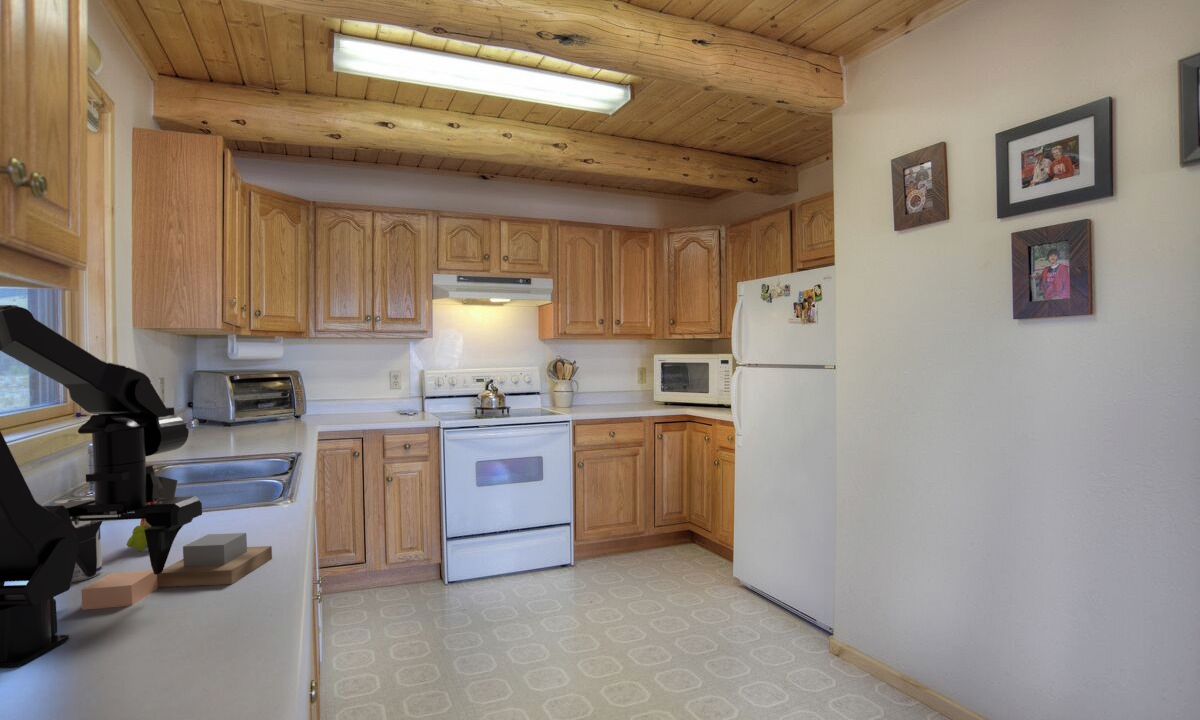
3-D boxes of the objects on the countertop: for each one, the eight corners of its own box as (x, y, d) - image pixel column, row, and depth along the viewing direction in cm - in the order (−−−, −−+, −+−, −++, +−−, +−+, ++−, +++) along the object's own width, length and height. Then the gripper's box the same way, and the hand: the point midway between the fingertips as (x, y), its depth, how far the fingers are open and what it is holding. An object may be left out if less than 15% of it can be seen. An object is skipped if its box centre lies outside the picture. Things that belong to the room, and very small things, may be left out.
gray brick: (224, 564, 91) (223, 544, 91) (183, 566, 91) (182, 546, 91) (247, 551, 97) (246, 532, 97) (208, 553, 97) (207, 534, 97)
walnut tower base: (231, 584, 88) (231, 570, 88) (155, 586, 88) (154, 573, 88) (272, 558, 99) (271, 546, 99) (204, 560, 99) (203, 548, 99)
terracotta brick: (132, 607, 82) (131, 585, 82) (82, 611, 81) (81, 589, 81) (157, 590, 88) (156, 569, 88) (111, 594, 87) (110, 573, 87)
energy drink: (97, 568, 97) (94, 493, 97) (106, 575, 94) (102, 497, 94) (52, 578, 93) (49, 500, 93) (60, 586, 90) (56, 505, 90)
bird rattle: (129, 558, 109) (125, 549, 102) (128, 497, 112) (125, 484, 105) (172, 551, 112) (171, 542, 105) (170, 492, 116) (169, 479, 109)
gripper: (223, 450, 92) (227, 553, 93) (99, 455, 92) (103, 557, 92) (172, 464, 81) (177, 580, 82) (31, 469, 81) (36, 586, 81)
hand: (125, 574), depth 85 cm, fingers open, 9 cm apart
